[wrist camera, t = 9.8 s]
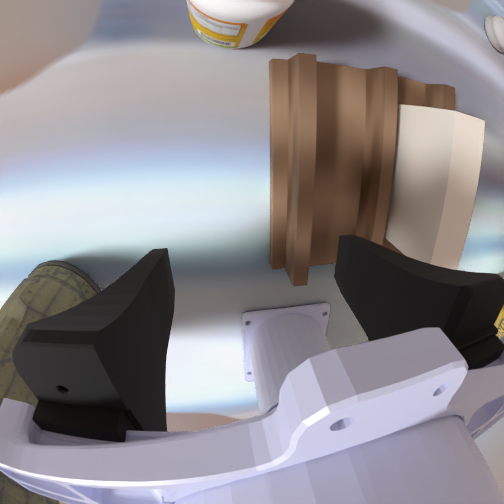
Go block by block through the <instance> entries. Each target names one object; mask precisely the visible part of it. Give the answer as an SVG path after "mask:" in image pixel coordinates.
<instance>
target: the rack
mask: <svg viewBox="0 0 504 504" xmlns="http://www.w3.org/2000/svg"><path fill="white" fill-rule="evenodd" d="M269 75H270V265H271V268H272V269H281V268H285V269H286V271H287V274H288V276H289V278H290V280H291V282H292V285H293V286H301V285H307V280H308V270H309V266H313V265H323V264H333V263H336V259H337V252H338V244H339V235H356V236H359V237H362V238H365V239H367V240H370V241H372V242H374V243H377V244H379V245H381V246H383V247H386V248H388V249H390V250H393V251H395V252H398V253H400V254H403V253H402V252H401V251H400V250H398V249H397V248H396V247H395V246H394V245H393V244H392V243H390V242H389V241H388V240H387V239H386V238H385V237H384V232H385V226H386V220H387V214H388V207H389V200H390V192H391V184H392V176H393V166H394V156H395V143H396V127H397V104H402V105H413V106H423V107H431V108H439V109H446V110H453V111H455V88H454V87H451V86H449V85H443V84H424V83H420V82H417V81H413V80H409V79H406V78H402V77H398V70H397V69H393V68H388V67H379V68H372V69H360V68H355V67H349V66H342V65H335V64H328V63H319V62H316V55H314V54H304V53H298V54H297V55H295V56H293V57H292V58H290V59H288V60H284V59H272V60H270V61H269ZM403 255H404V254H403Z"/></svg>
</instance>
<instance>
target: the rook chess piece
mask: <svg viewBox="0 0 504 504" xmlns="http://www.w3.org/2000/svg"><path fill="white" fill-rule="evenodd" d="M484 26H485V31H486V35H487V37H488V39H489V41H490V43H491V44H492V45H493V47H494V48H496V49H497V50H498V51H500V52H501V53H504V18H502V17H500V16H496V15H495V16H491V15H489V16H488V17H486V19H485V23H484Z"/></svg>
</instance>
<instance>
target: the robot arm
mask: <svg viewBox="0 0 504 504" xmlns="http://www.w3.org/2000/svg"><path fill="white" fill-rule="evenodd" d="M334 277H335V279H336V282H337V284H338V287H339V289H340V291H341V293H342V295H343V297H344V298H345V300H346V302H347V303H348V305H349V307H350V308H351V310H352V311H353V313H354V315H355V316H356V318H357V320H358V321H359V323H360V324H361V326H362V328H363V329H364V331H365V333H366V335H367V337H368V339H369V341H370V342H365V343H360V344H356V345H351V346H346V347H341V348H336V349H331V347H330V345H329V343H328V341H327V339H326V337H325V336H326V331H327V326H328V320H329V315H330V309H331V307H330V305H329V304H328V303H320V304H313V305H305V306H297V307H289V308H280V309H271V310H262V311H252V312H245V313H243V315H242V333H243V351H244V370H245V380H246V381H248V382H251V381H254V383H255V389H256V394H257V399H258V404H259V409H260V415H258V416H254V417H251V418H247V419H244V420H240V421H237V422H233V423H229V424H225V425H221V426H217V427H213V428H208V429H204V430H199V431H189V432H188V431H187V432H167V424H166V402H165V372H166V355H167V348H168V342H169V336H170V330H171V325H172V319H173V313H174V298H175V289H174V284H173V278H172V273H171V267H170V261H169V255H168V249H167V248H164V249H153V250H151V251H150V252H149V253H148V254H146V255H145V256H144V257H143V258H142V259H141V260H140V261H139V262H138V263H136V264H135V265H134V266H133V267H132V268H131V269H130V270H129V271H127V272H126V273H125V274H124V275H122V276H121V277H120V278H119V279H118V280H116V281H115V282H114V283H112V284H111V285H110V286H108V287H107V288H105V289H104V290H102V291H101V292H99V293H98V294H96V295H95V296H93V297H91V298H89V299H87V300H86V301H84V302H82V303H80V304H78V305H76V306H74V307H72V308H70V309H68V310H65V311H63V312H61V313H58V314H56V315H53V316H50V317H47V318H44V319H41V320H38V321H34V322H31V323H28V324H27V325H26V327H25V329H24V331H23V332H22V334H21V336H20V338H19V339H18V341H17V343H16V345H15V347H14V349H13V350H12V359H13V362H14V366H15V368H16V370H17V371H18V373H19V375H20V376H21V378H22V379H23V380H24V382H25V383H26V384H27V386H28V387H29V388H30V390H31V391H32V392H33V394H34V395H35V396H36V398H37V399H38V403H37V406H36V408H35V407H33V406H32V405H30V404H28V403H25V402H20V401H16V400H12V399H8V398H4V399H3V402H2V404H1V407H0V471H1V472H3V473H4V474H6V475H7V476H8V477H10V478H11V479H13V480H14V481H16V482H17V483H19V484H20V485H22V486H23V487H25V488H26V489H28V490H30V491H32V492H35V493H38V494H40V495H43V496H46V497H49V498H52V499H55V500H58V501H61V502H64V503H67V504H504V496H503V494H502V492H501V490H500V488H499V486H498V484H497V482H496V480H495V478H494V476H493V474H492V472H491V470H490V468H489V466H488V465H487V463H486V461H485V459H484V457H483V455H482V454H481V452H480V450H479V448H478V446H477V445H476V443H475V442H474V439H476V438H477V437H478V436H480V435H481V434H482V433H484V432H485V431H486V430H487V429H489V428H490V427H491V426H493V425H494V424H495V423H496V422H497V421H499V420H500V419H501V418H503V417H504V336H503V337H502V338H501V339H499V338H498V337H497V336H496V334H497V333H498V328H497V327H496V326H495V325H494V324H495V322H496V320H497V318H498V316H499V314H500V312H501V309H502V307H503V305H504V279H503V278H501V277H500V276H499V275H497V274H492V273H475V272H467V271H459V270H454V269H449V268H444V267H440V266H436V265H432V264H429V263H425V262H422V261H419V260H416V259H413V258H410V257H408V256H405V255H403V254H400V253H398V252H395V251H393V250H390V249H388V248H386V247H383V246H381V245H379V244H377V243H374V242H372V241H370V240H367V239H365V238H362V237H359V236H356V235H339V244H338V252H337V259H336V267H335V274H334ZM323 312H325V313H323ZM246 321H250V322H248V323H246Z"/></svg>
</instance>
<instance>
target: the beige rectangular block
mask: <svg viewBox="0 0 504 504" xmlns="http://www.w3.org/2000/svg"><path fill="white" fill-rule="evenodd" d="M484 126H485V121H483V120H481V119H478V118H475V117H472V116H469V115H466V114H463V113H460V112H457V111H453V110H446V109H439V108H431V107H423V106H413V105H402V104H397V127H396V143H395V156H394V166H393V176H392V184H391V192H390V200H389V207H388V214H387V220H386V226H385V232H384V237H385V238H386V239H387V240H388V241H389V242H390V243H392V244H393V245H394V246H395V247H396V248H397V249H398V250H400V251H401V252H402V253H403V254H404V255H405V256H408V257H410V258H413V259H416V260H419V261H422V262H425V263H429V264H432V265H436V266H440V267H444V268H449V269H454V270H457V268H458V265H459V262H460V258H461V255H462V251H463V248H464V244H465V241H466V237H467V233H468V229H469V225H470V221H471V216H472V212H473V207H474V202H475V197H476V192H477V186H478V180H479V174H480V166H481V159H482V150H483V139H484Z"/></svg>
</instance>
